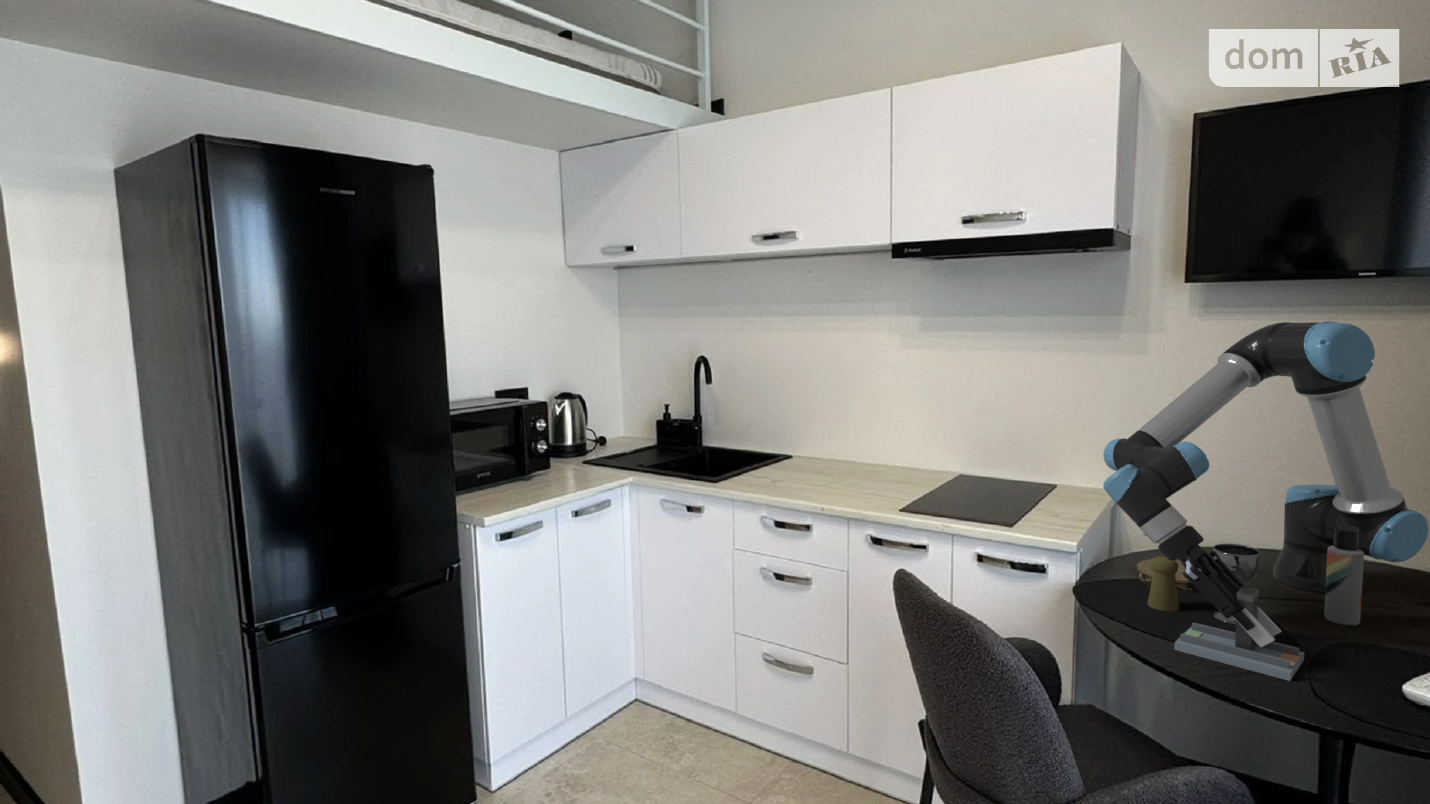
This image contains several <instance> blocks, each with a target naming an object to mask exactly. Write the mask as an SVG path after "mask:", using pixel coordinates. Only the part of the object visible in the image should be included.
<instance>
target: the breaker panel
mask: <svg viewBox="0 0 1430 804" xmlns="http://www.w3.org/2000/svg"><path fill="white" fill-rule="evenodd" d="M1179 635H1180V637H1179V638H1177V640H1175V642H1174V651H1178V652H1181V653H1185V654H1190V655H1193V656H1196V657H1200V658H1204V659H1208V660H1212V661H1215V662H1218V663H1222V664H1226V665H1228V666H1229V665H1230V666H1233V667H1237V668H1241V669H1244V670H1247V671H1251V672H1254V673H1255V672H1256V673H1258V674H1263V675H1266V676H1271V677H1274V678H1278V679H1282V680H1285V681H1288V682H1291V680H1292V679H1293V677H1294V676H1295V675H1296V673H1297V672H1298V670H1299V668H1300V667H1301V666H1302V664H1303V662H1304V661H1305V652H1304V651H1300V647H1297V646H1292V645H1288V644H1284V643H1279V642H1276V641H1272V642H1270V643H1268V644H1266V645H1265V646H1263V647H1260V646H1259V645H1258V644H1257V643H1256V647H1255V648H1254V650H1253V651H1250V650H1246V649H1242V648H1238V647H1235V638H1236V631H1231V630H1226V629H1224V628H1223V629H1222V628H1217V627H1214V626H1209V625H1205V624H1202V623H1197V622H1192V623H1191V626H1190V627H1189V628H1188V629H1187V630H1186V631H1185V632H1183V633H1180V634H1179Z"/></svg>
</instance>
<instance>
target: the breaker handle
mask: <svg viewBox="0 0 1430 804" xmlns="http://www.w3.org/2000/svg"><path fill="white" fill-rule="evenodd" d="M1259 594H1260V591H1259V589H1255V588H1250V587H1247V586H1246V587H1242V588H1241V589H1240V590H1239V591H1238V592H1237V602H1238V603H1239V605H1240V606H1241V607H1242V609H1245V608H1246V609H1247V610H1248V611H1249V612H1250V613H1251V614H1252V615H1253V616H1254V617H1255V618H1256V619H1257V614H1258V607H1259ZM1235 633H1236V638H1235V647H1238V648H1242V649H1246V650H1250V651H1253V650H1254V648H1255V647H1256V642H1255V641H1254V639H1253V638H1252V637H1251V636H1250V635H1249V634H1248V633H1247V632H1246V631H1245V630H1244V629H1243V628H1242V627H1241V626H1240V624H1239V623H1238V622H1237V621H1236V624H1235Z"/></svg>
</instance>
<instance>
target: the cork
mask: <svg viewBox="0 0 1430 804" xmlns="http://www.w3.org/2000/svg"><path fill="white" fill-rule="evenodd" d="M1151 559H1152V561H1151V569H1152V570H1153V577H1152V583H1151V585H1150V588H1149V594H1148V595H1149V596H1148V600H1147V605H1148V606H1149V607H1150V608H1151V609H1154V610H1157V611H1162V612H1178V611H1179V610H1180V601H1179V595H1178V591H1177V585H1176V578H1175V574H1176V573H1177V571H1178V563H1177V562H1176V560H1177V559H1175V560H1174V561H1170V560H1169V559H1168V558H1167V557H1166V556H1156V557H1153V558H1151Z"/></svg>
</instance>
